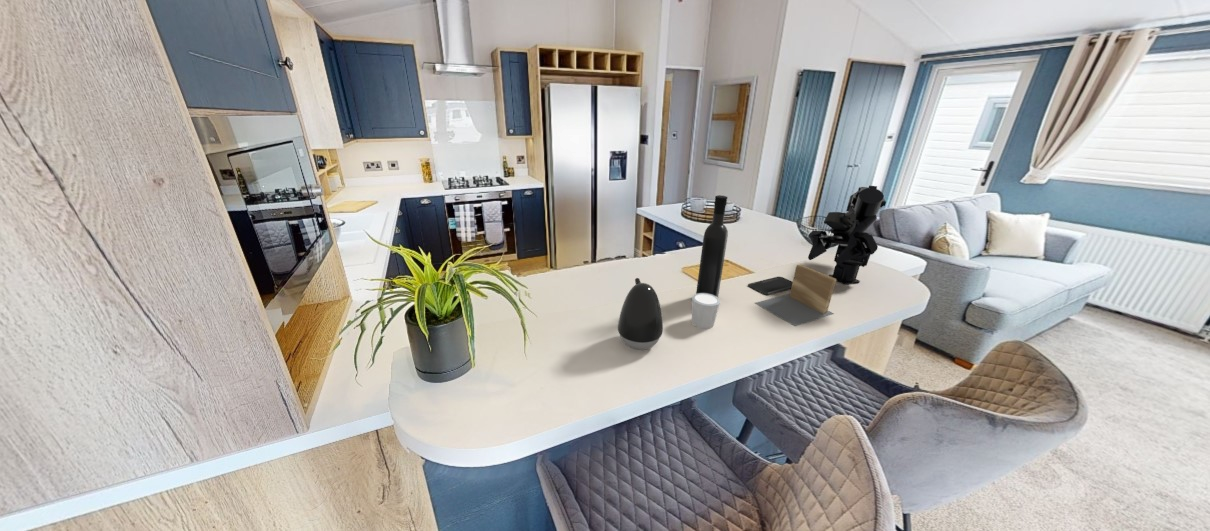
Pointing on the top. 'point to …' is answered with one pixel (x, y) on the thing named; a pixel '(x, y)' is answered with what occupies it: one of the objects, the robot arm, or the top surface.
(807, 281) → the oak block
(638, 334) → the black egg shape
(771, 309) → the charcoal mat
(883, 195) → the robot arm
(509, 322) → the top surface
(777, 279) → the phone
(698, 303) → the white short tapered cylinder
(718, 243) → the wine bottle
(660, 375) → the top surface
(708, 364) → the top surface
